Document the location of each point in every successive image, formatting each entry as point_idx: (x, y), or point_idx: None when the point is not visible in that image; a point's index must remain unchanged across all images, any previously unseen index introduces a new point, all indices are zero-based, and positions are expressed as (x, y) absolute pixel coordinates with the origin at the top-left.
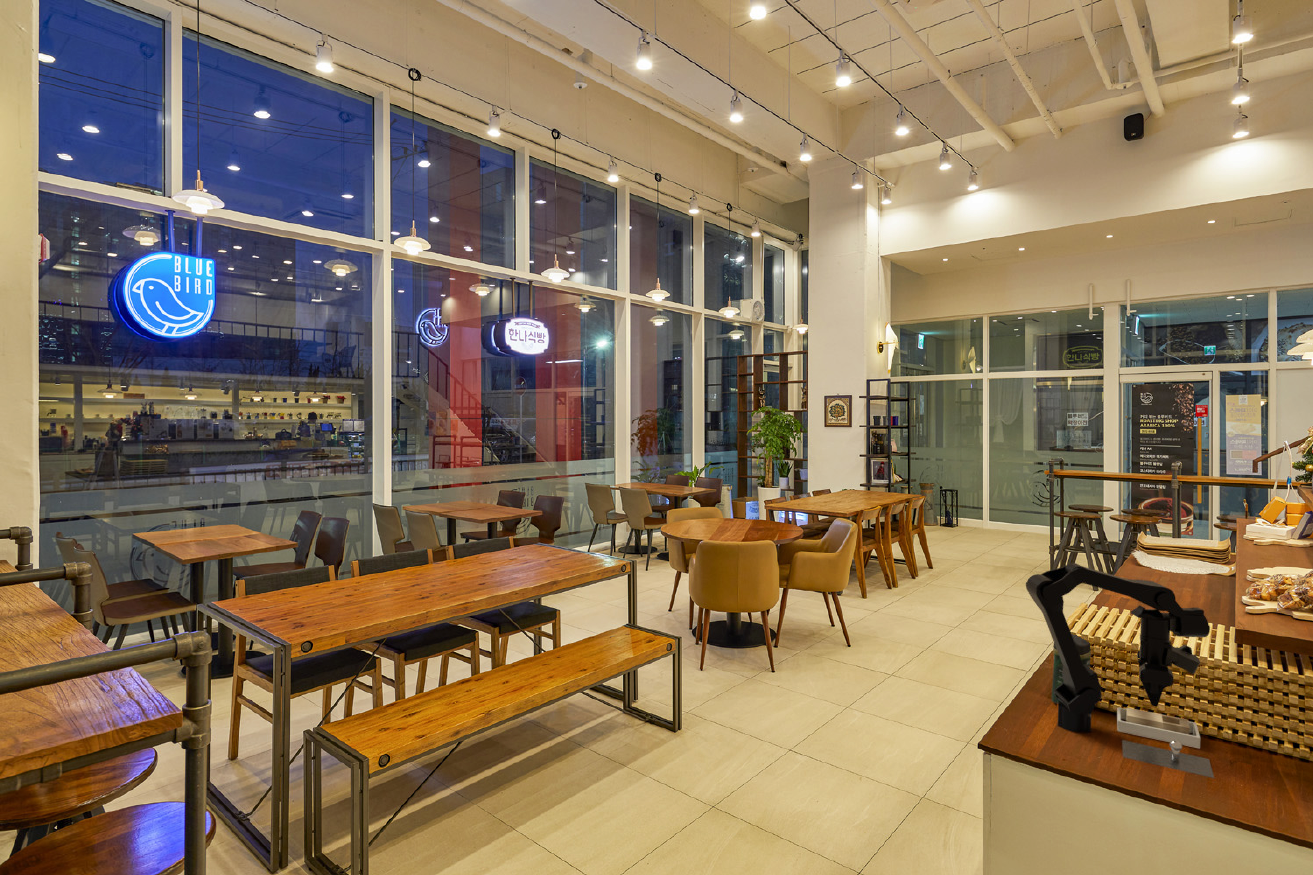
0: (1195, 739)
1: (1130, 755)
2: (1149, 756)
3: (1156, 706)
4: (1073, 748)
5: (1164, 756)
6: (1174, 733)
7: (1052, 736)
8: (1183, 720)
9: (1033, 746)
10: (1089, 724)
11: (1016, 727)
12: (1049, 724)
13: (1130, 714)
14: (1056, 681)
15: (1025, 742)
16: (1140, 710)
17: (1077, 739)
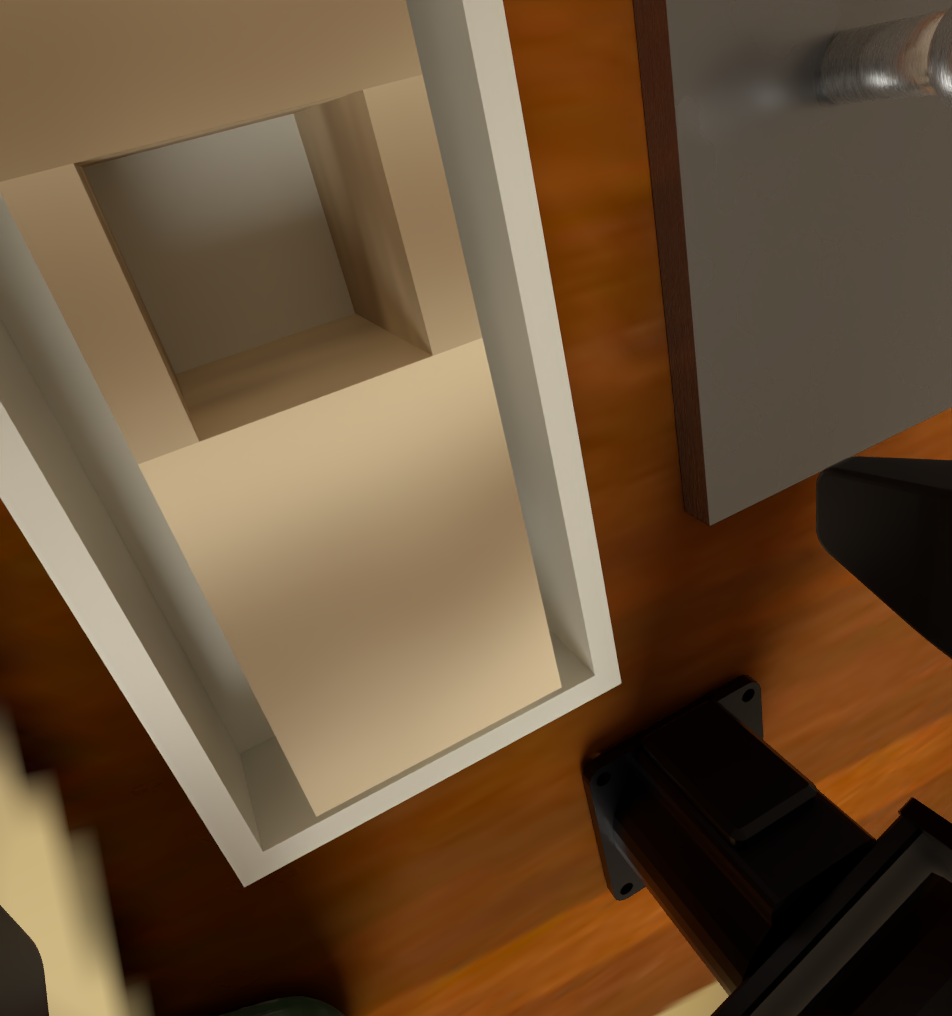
0: None
1: (915, 379)
2: (874, 270)
3: (837, 468)
4: (890, 641)
5: (822, 168)
6: (523, 153)
7: (809, 774)
8: (67, 79)
9: (947, 741)
10: (770, 747)
11: None
12: None
13: (510, 683)
14: None
15: (926, 780)
16: (264, 695)
17: (775, 695)
